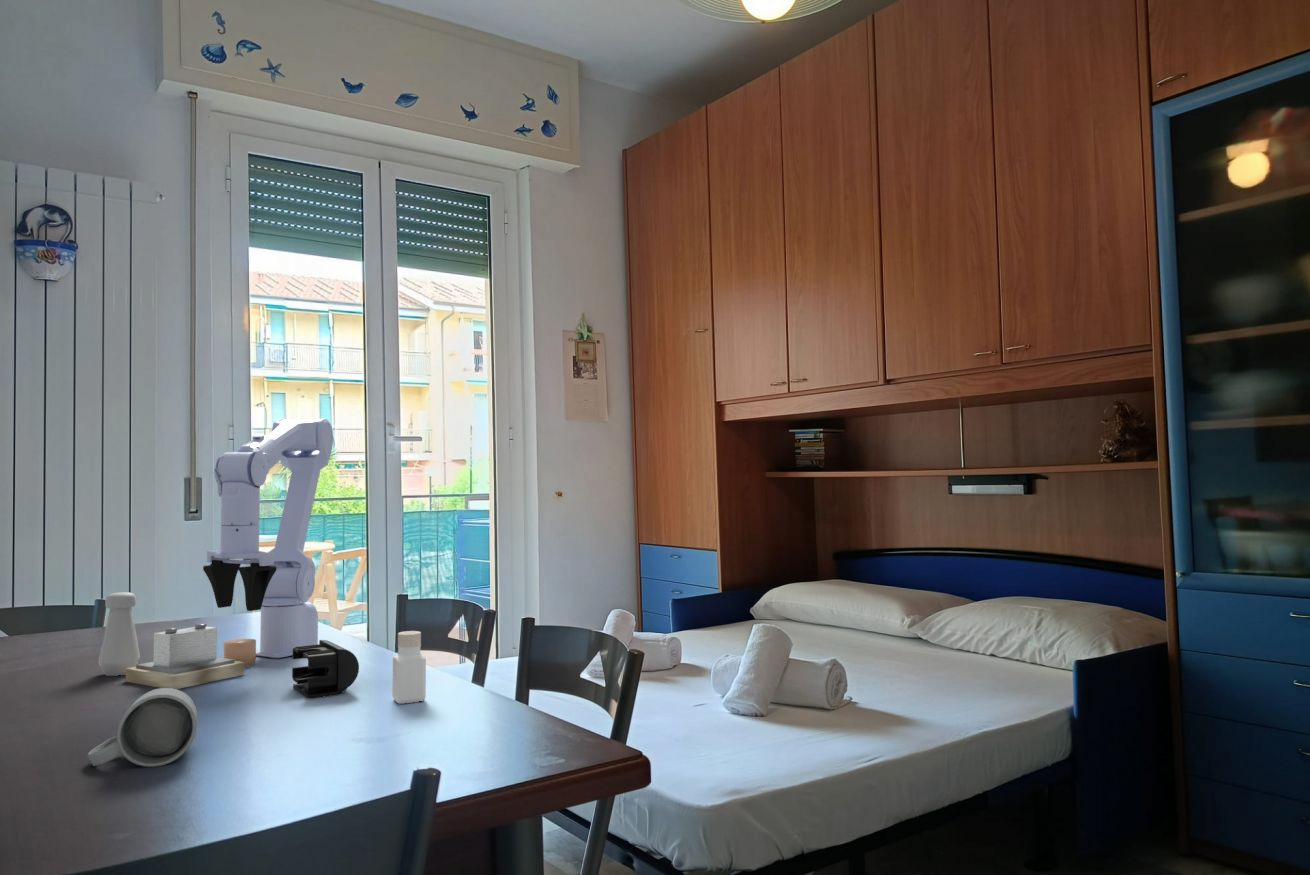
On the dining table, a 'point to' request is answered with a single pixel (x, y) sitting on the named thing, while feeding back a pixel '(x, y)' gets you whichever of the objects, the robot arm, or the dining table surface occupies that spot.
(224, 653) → the peach rounded cylinder
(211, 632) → the alloy housing
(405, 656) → the pepper shaker
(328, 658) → the end cap
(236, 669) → the birch plinth
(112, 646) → the salt shaker
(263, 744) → the dining table surface
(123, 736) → the ceramic mug
